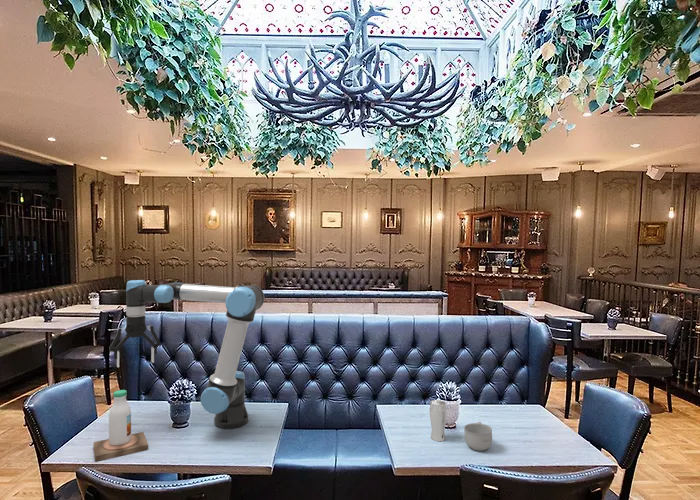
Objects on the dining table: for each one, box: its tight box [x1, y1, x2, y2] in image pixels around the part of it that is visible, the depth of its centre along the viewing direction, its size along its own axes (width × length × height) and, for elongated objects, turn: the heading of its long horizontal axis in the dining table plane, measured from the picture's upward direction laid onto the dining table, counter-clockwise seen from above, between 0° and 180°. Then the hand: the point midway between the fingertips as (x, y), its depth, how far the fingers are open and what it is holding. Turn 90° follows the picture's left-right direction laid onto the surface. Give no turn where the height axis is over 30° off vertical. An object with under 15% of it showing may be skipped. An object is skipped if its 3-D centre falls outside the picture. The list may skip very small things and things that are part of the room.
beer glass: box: [429, 399, 448, 442], centre depth 179 cm, size 7×7×15 cm
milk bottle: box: [108, 389, 132, 446], centre depth 169 cm, size 8×8×20 cm
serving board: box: [93, 431, 149, 463], centre depth 169 cm, size 18×14×3 cm
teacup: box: [463, 421, 493, 452], centre depth 173 cm, size 14×11×8 cm
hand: (135, 364), depth 186 cm, fingers open, 13 cm apart
